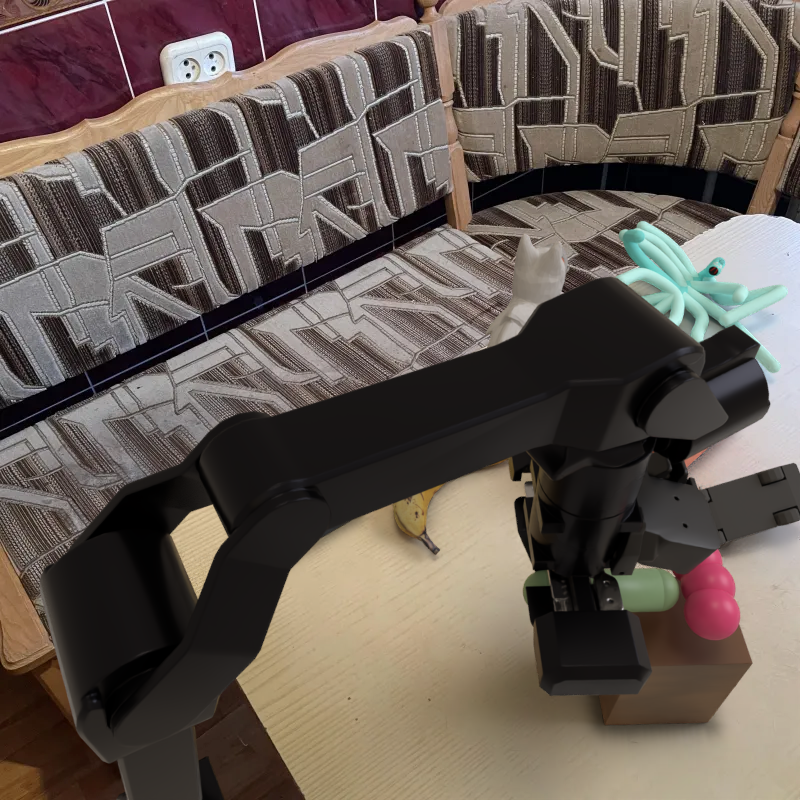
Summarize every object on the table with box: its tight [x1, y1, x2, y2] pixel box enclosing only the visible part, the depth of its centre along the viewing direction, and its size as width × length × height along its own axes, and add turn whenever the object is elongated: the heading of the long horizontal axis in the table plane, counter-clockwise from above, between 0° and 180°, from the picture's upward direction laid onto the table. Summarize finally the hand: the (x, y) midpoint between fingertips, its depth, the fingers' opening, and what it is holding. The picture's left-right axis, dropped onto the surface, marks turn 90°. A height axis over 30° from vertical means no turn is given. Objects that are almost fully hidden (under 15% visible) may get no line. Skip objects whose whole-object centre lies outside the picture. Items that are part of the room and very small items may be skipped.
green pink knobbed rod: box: [522, 549, 741, 640], centre depth 53 cm, size 15×8×4 cm, turn 91°
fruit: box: [392, 458, 508, 556], centre depth 77 cm, size 15×9×3 cm, turn 135°
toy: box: [485, 233, 571, 348], centre depth 85 cm, size 6×19×15 cm, turn 150°
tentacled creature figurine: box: [614, 220, 789, 374], centre depth 93 cm, size 25×14×18 cm
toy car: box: [698, 462, 800, 546], centre depth 73 cm, size 6×13×5 cm
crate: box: [598, 576, 754, 726], centre depth 60 cm, size 8×7×12 cm
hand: (553, 607), depth 55 cm, fingers closed on green pink knobbed rod, 3 cm apart
